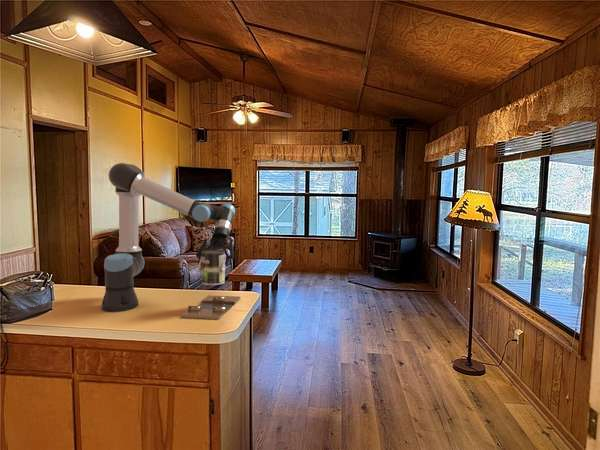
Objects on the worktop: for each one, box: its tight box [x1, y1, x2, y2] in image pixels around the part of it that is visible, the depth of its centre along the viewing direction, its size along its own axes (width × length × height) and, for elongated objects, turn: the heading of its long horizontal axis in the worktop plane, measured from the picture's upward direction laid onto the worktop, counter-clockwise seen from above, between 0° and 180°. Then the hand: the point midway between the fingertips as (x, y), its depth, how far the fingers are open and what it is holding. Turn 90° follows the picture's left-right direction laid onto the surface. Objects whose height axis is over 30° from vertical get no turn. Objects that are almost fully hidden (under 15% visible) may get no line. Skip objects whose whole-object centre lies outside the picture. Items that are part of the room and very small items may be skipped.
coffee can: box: [201, 249, 226, 286], centre depth 177 cm, size 10×10×14 cm
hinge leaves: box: [181, 294, 241, 320], centre depth 178 cm, size 16×31×3 cm, turn 172°
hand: (210, 270), depth 174 cm, fingers closed on coffee can, 10 cm apart
